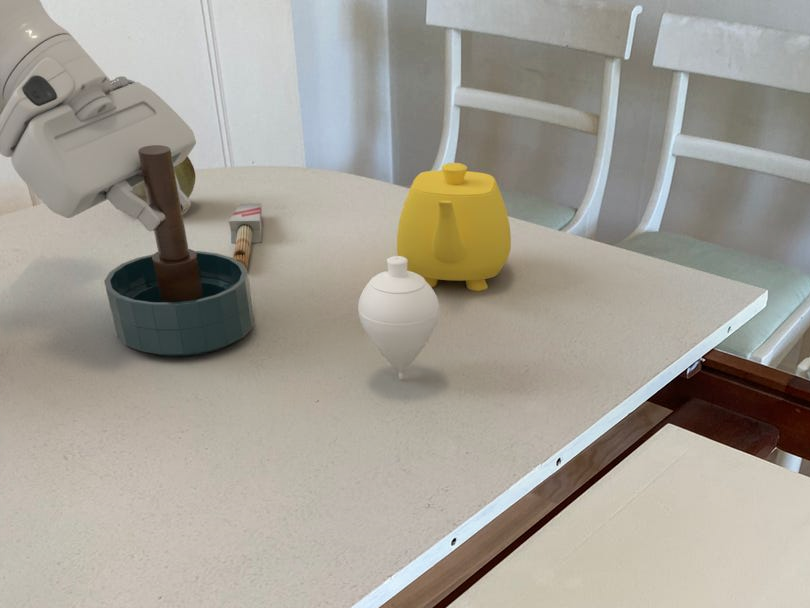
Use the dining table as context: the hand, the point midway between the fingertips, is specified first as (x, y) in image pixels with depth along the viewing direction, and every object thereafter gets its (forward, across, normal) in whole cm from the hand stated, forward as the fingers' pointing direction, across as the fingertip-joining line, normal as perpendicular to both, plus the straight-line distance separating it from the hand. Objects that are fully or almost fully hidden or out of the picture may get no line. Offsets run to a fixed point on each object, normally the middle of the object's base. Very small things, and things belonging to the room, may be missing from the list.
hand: (171, 218), depth 96 cm
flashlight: (+5, 0, -6) cm, 8 cm away
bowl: (+8, 0, -9) cm, 12 cm away
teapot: (+23, -25, +6) cm, 34 cm away
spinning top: (+26, +1, +9) cm, 28 cm away
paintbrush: (+3, -25, -14) cm, 29 cm away
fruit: (-9, -30, -26) cm, 41 cm away
